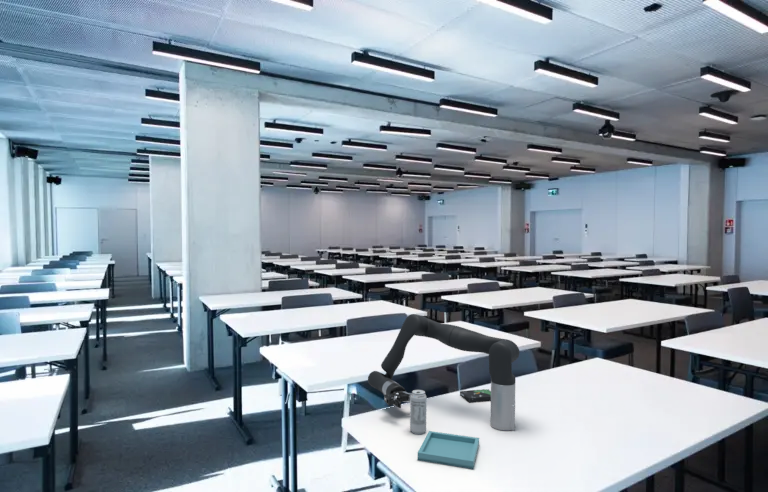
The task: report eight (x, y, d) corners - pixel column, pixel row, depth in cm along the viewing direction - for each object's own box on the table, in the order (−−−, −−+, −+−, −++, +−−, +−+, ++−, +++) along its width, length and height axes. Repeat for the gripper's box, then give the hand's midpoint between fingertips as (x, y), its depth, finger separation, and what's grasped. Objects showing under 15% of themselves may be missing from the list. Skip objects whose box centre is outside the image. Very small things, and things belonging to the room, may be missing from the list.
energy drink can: (427, 429, 171) (428, 390, 171) (423, 436, 165) (424, 395, 165) (412, 427, 173) (413, 388, 173) (408, 433, 167) (408, 393, 167)
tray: (479, 445, 158) (479, 438, 158) (473, 469, 141) (473, 461, 141) (428, 437, 164) (429, 430, 164) (417, 460, 146) (417, 452, 146)
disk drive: (469, 404, 200) (499, 401, 204) (469, 398, 200) (499, 395, 204) (459, 396, 210) (488, 394, 214) (459, 390, 210) (488, 388, 214)
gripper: (378, 384, 188) (393, 396, 173) (408, 380, 193) (426, 392, 178) (378, 402, 188) (393, 416, 173) (408, 398, 193) (426, 411, 178)
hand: (410, 404), depth 176 cm, fingers open, 8 cm apart
